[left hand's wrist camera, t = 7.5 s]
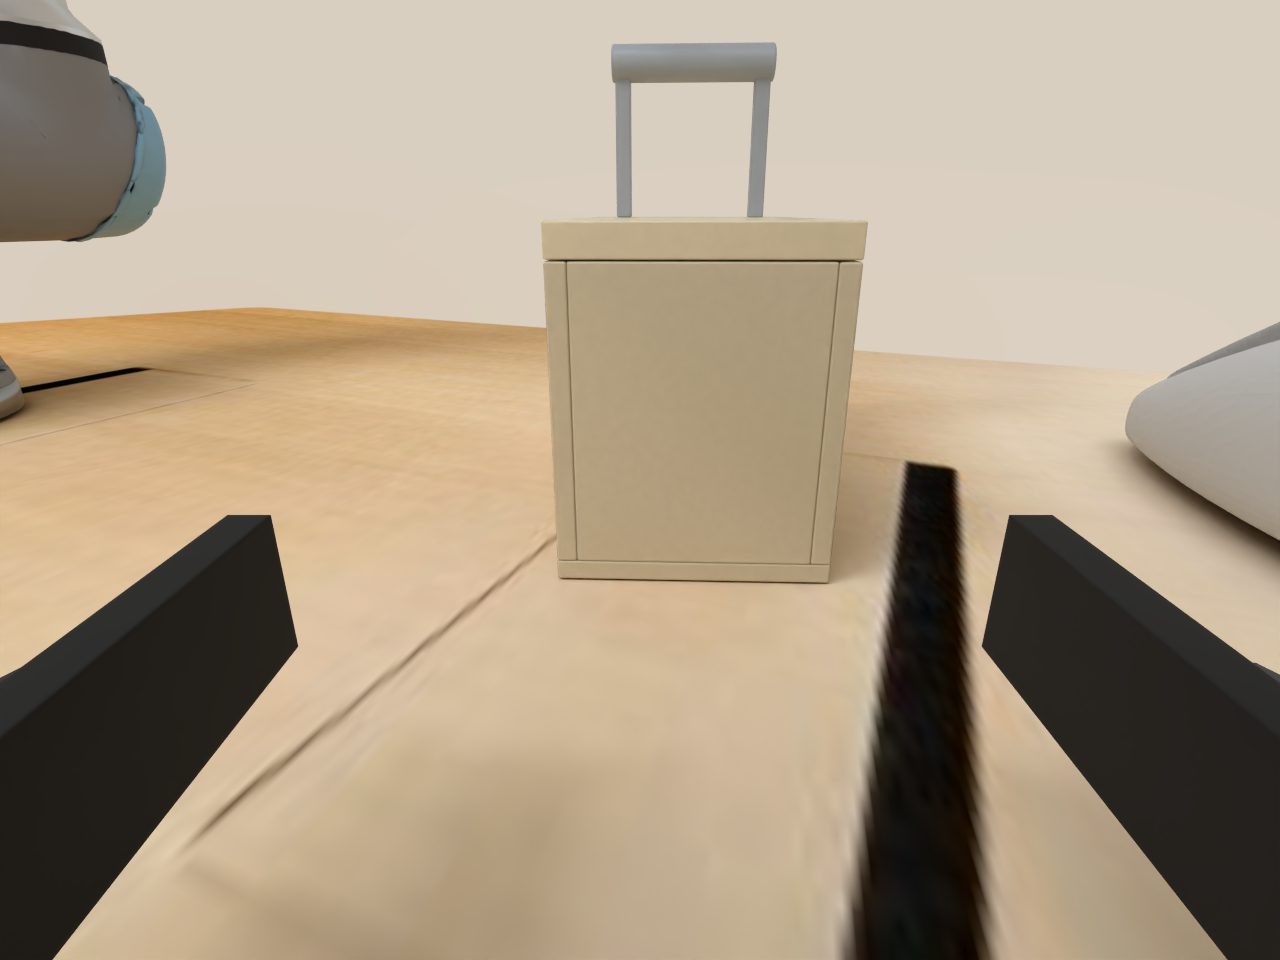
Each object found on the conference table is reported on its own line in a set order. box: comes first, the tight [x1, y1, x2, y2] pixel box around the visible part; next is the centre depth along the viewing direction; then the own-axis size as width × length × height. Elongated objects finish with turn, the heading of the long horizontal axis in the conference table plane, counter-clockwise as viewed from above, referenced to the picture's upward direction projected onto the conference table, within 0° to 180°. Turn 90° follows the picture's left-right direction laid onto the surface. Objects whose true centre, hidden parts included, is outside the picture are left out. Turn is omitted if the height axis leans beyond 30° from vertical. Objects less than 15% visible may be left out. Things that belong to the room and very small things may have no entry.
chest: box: [543, 260, 863, 583], centre depth 31 cm, size 17×10×11 cm, turn 178°
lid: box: [541, 43, 868, 260], centre depth 28 cm, size 18×10×9 cm, turn 178°
